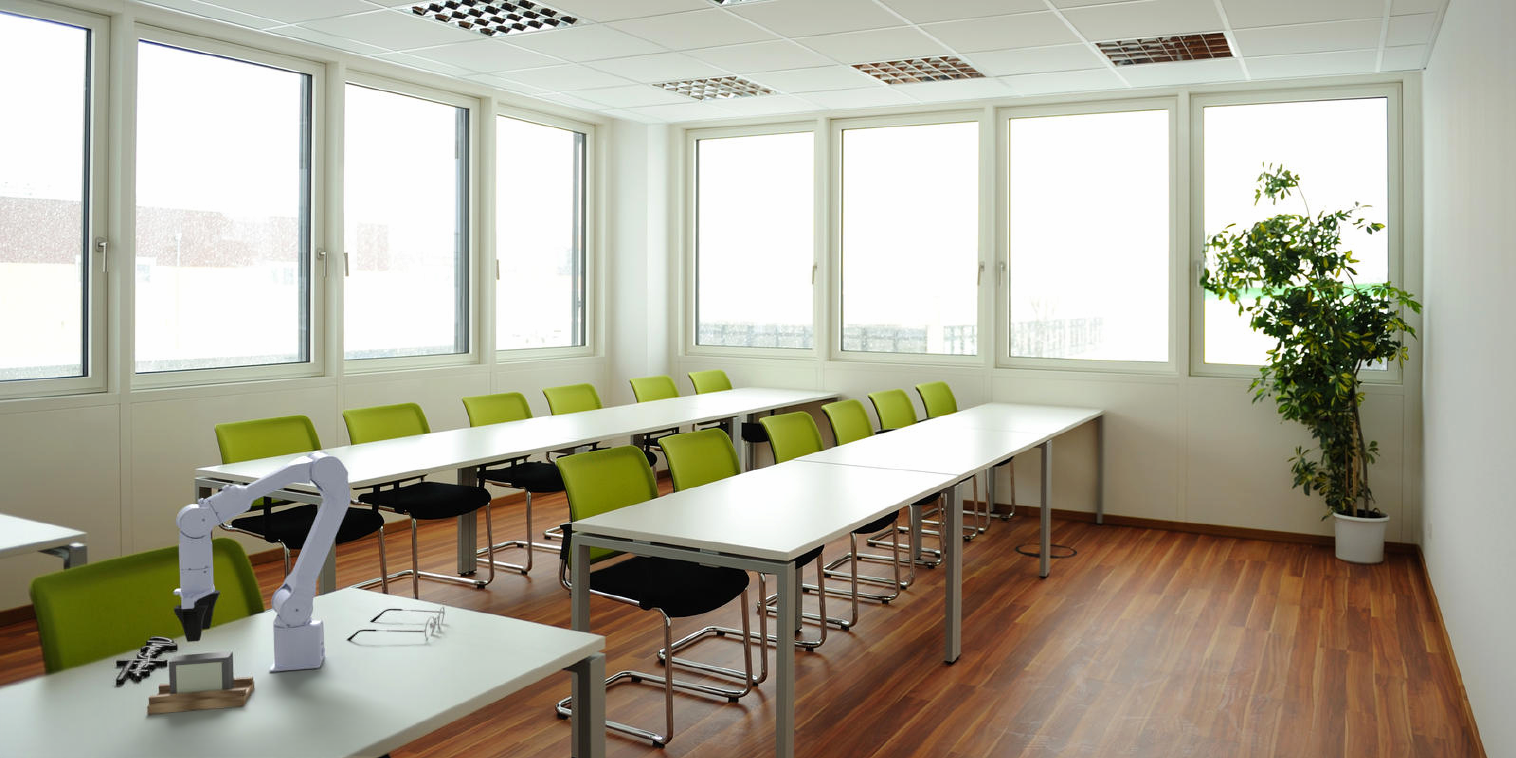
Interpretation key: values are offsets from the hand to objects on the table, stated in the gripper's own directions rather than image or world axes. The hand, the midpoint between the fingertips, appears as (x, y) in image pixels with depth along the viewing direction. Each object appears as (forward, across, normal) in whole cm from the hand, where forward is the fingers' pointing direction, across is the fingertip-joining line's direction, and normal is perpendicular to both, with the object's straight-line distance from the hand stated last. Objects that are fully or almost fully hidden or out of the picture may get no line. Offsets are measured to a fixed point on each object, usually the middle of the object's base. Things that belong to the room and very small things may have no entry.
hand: (198, 634), depth 203 cm
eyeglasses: (+10, -24, +35) cm, 44 cm away
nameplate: (+10, -16, -14) cm, 23 cm away
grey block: (+8, +11, +3) cm, 14 cm away
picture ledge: (+9, +11, +3) cm, 15 cm away
